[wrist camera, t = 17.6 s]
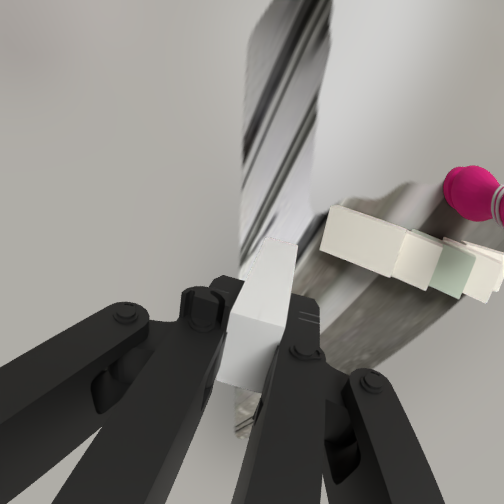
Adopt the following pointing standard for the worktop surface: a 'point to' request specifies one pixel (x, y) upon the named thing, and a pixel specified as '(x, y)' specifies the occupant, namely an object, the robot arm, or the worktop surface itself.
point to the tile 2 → (417, 260)
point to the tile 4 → (480, 273)
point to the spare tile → (450, 268)
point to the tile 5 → (492, 253)
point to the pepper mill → (475, 194)
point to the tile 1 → (363, 240)
